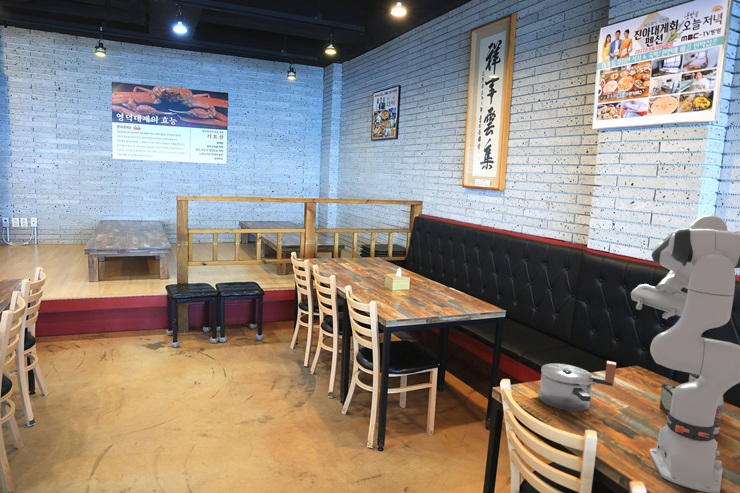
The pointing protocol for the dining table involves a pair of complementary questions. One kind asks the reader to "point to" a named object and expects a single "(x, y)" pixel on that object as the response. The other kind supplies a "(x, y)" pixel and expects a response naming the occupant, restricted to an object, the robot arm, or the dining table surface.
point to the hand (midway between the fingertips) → (650, 312)
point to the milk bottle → (718, 415)
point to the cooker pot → (565, 395)
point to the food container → (666, 397)
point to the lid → (578, 374)
